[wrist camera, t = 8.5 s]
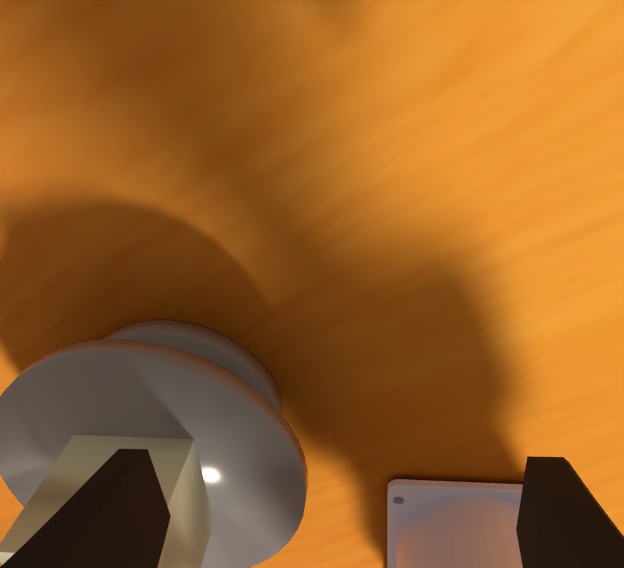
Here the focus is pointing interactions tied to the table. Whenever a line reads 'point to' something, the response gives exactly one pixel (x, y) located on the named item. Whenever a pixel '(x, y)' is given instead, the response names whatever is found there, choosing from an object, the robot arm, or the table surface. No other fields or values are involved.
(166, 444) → the block
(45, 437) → the cake stand
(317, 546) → the table surface
